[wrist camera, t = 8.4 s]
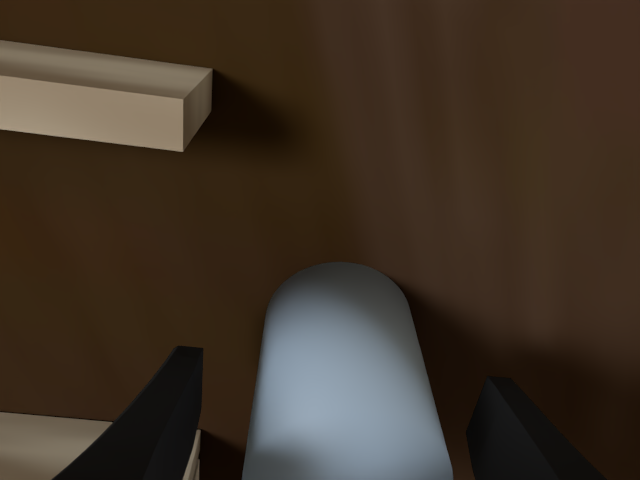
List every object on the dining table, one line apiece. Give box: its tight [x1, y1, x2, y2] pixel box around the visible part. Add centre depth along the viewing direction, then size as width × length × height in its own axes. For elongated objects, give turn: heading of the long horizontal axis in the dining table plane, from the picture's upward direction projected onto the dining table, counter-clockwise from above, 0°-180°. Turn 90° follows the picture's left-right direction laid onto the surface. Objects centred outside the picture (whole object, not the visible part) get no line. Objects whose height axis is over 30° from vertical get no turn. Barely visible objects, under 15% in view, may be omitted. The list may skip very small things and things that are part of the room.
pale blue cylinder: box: [242, 262, 453, 480], centre depth 13 cm, size 4×4×6 cm
